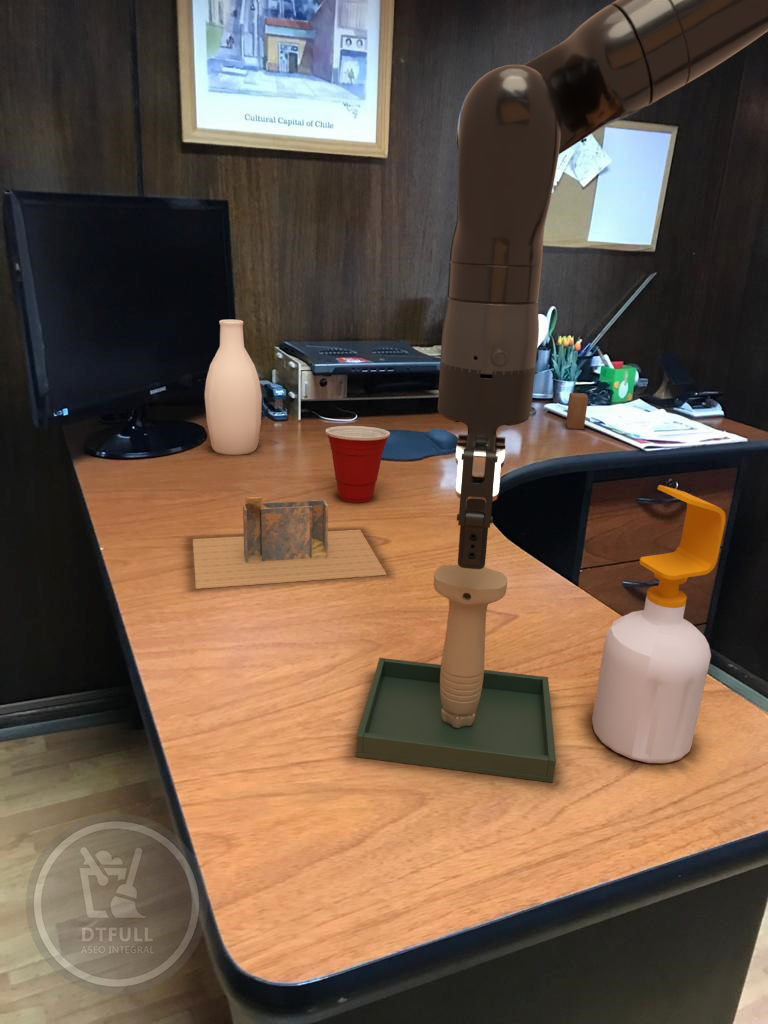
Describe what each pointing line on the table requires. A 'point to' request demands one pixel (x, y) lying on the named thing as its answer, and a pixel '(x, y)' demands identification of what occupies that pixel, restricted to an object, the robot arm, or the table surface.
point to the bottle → (233, 395)
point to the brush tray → (477, 748)
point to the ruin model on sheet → (283, 548)
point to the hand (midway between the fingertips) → (473, 546)
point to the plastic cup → (356, 460)
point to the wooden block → (576, 410)
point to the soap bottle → (660, 651)
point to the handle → (465, 637)
